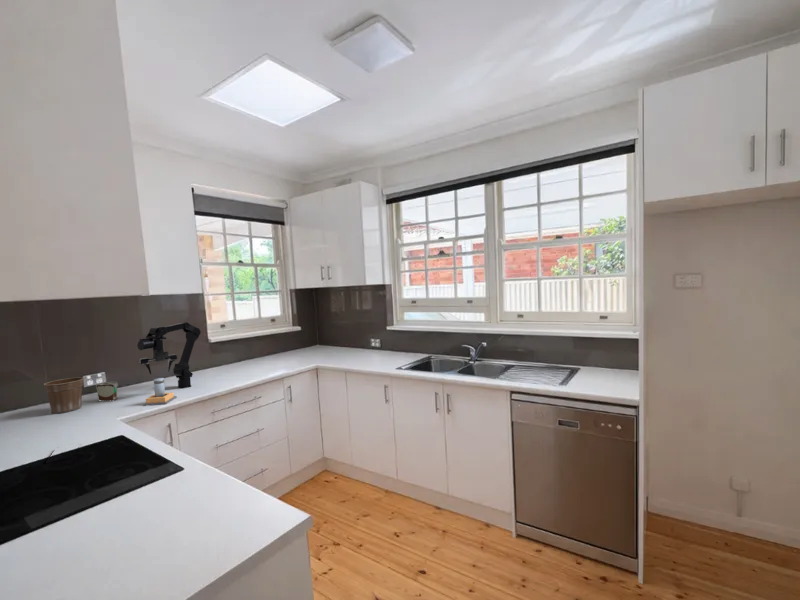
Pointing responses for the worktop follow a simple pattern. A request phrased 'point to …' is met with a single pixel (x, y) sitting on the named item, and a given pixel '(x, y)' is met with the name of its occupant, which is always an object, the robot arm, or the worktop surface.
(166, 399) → the dock
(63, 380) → the plant pot
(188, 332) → the robot arm
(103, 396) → the food container
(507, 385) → the worktop surface
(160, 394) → the canister
